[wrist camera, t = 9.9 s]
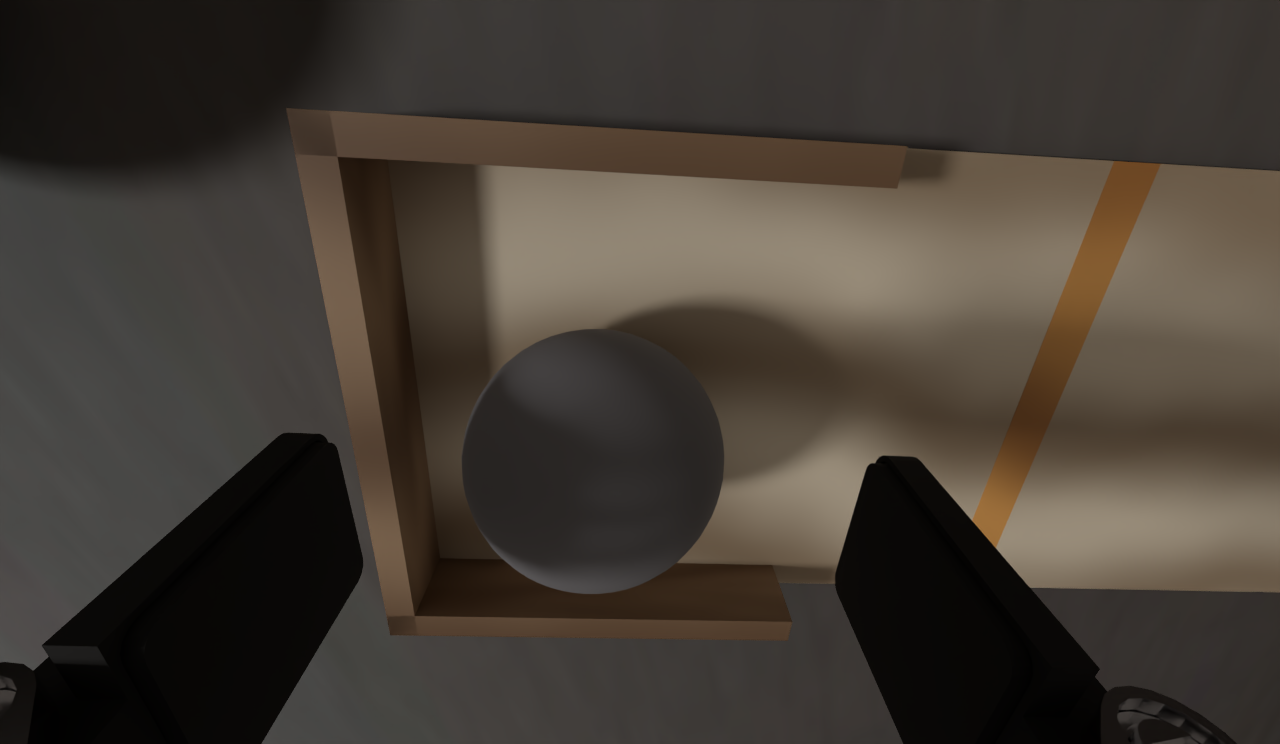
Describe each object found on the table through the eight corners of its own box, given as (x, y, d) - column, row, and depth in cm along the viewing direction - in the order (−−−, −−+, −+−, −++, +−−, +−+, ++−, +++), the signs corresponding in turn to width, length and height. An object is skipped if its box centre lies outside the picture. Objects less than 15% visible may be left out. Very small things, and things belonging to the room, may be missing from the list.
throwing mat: (352, 114, 12) (285, 107, 10) (1596, 191, 14) (1800, 200, 11) (421, 569, 18) (390, 635, 15) (1295, 586, 19) (1388, 648, 17)
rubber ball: (489, 291, 14) (397, 398, 8) (716, 301, 14) (775, 412, 8) (502, 478, 16) (438, 656, 11) (694, 484, 16) (727, 661, 11)
